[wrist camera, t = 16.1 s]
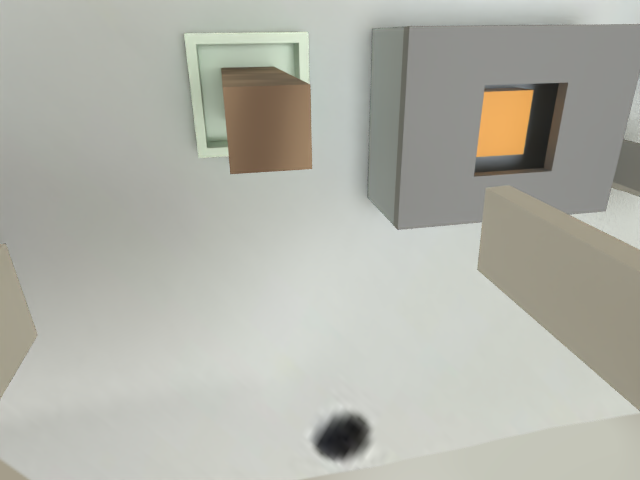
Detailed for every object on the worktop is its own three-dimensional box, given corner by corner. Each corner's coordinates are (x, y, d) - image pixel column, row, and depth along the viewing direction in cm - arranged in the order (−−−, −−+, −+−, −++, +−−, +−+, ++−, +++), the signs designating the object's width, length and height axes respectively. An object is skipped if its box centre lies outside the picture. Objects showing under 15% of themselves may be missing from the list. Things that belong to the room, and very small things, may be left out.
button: (455, 152, 39) (466, 157, 37) (461, 89, 37) (474, 92, 35) (509, 148, 40) (523, 154, 38) (518, 87, 38) (533, 90, 36)
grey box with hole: (367, 197, 43) (397, 229, 35) (372, 28, 37) (409, 26, 30) (544, 184, 46) (605, 211, 38) (573, 26, 40) (651, 24, 33)
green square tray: (199, 149, 38) (198, 158, 35) (186, 33, 35) (183, 33, 32) (304, 143, 39) (310, 151, 37) (301, 32, 36) (308, 32, 33)
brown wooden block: (225, 121, 37) (230, 174, 23) (220, 67, 35) (222, 87, 21) (276, 119, 38) (311, 168, 23) (273, 66, 36) (310, 84, 22)
